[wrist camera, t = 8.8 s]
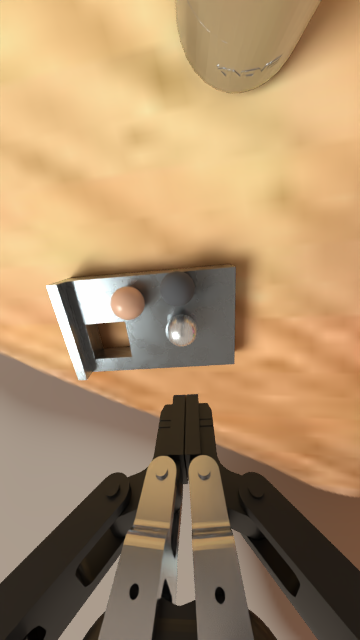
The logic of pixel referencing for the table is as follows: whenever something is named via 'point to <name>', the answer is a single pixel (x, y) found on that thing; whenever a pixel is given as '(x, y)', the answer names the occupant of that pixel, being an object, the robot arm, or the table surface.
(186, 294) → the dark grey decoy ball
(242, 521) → the robot arm
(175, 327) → the steel ball
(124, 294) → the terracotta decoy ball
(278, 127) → the table surface
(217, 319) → the grey ball holder tray
